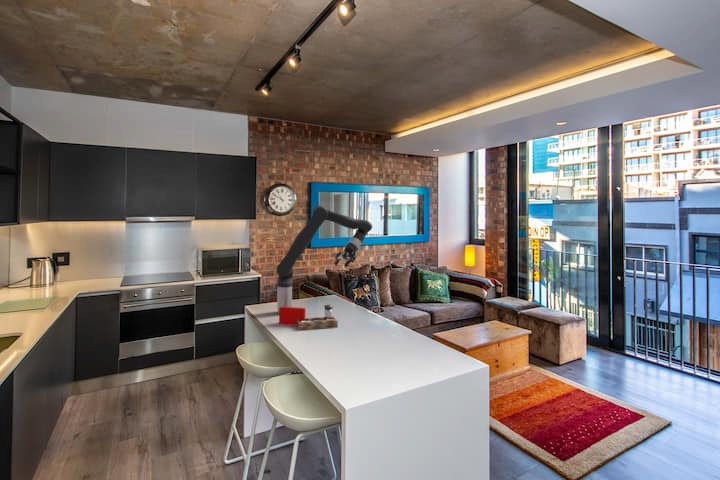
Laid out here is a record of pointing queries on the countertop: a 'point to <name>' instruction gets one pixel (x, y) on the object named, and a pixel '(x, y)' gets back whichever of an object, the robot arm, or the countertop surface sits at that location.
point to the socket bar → (317, 323)
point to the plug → (328, 311)
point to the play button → (291, 315)
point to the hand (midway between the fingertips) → (340, 265)
